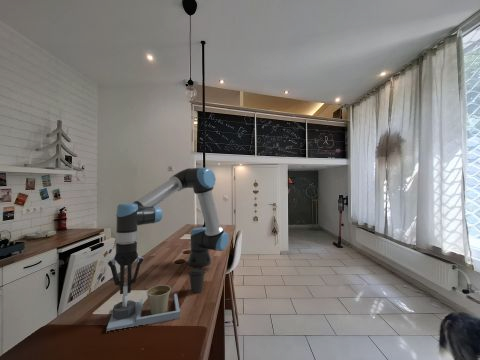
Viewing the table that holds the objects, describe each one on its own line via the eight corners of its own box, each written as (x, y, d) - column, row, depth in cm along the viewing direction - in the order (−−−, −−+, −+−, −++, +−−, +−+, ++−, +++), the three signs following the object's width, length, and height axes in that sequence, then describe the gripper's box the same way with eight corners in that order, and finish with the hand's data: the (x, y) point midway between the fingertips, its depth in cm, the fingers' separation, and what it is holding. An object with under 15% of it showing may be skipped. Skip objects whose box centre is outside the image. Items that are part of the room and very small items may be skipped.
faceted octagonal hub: (136, 306, 91) (136, 299, 91) (134, 316, 84) (134, 308, 84) (115, 310, 89) (115, 302, 89) (111, 321, 81) (111, 312, 82)
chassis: (176, 298, 101) (177, 281, 101) (179, 318, 86) (180, 297, 86) (115, 309, 92) (115, 289, 93) (106, 332, 77) (106, 309, 78)
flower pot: (156, 321, 84) (156, 298, 84) (141, 313, 89) (141, 291, 89) (175, 309, 92) (175, 288, 92) (160, 303, 97) (160, 283, 97)
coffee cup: (208, 288, 111) (208, 268, 112) (200, 295, 104) (200, 274, 104) (193, 286, 114) (194, 266, 114) (184, 293, 106) (185, 271, 107)
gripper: (144, 238, 96) (143, 294, 95) (110, 241, 91) (108, 299, 90) (143, 242, 89) (142, 303, 88) (106, 245, 84) (104, 309, 83)
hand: (125, 301), depth 89 cm, fingers closed
